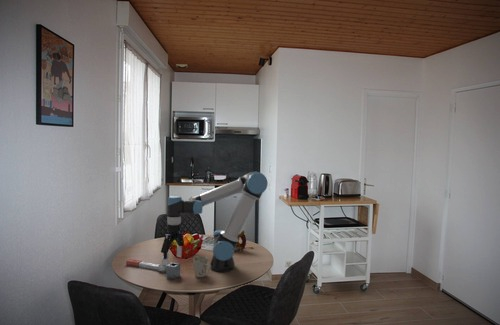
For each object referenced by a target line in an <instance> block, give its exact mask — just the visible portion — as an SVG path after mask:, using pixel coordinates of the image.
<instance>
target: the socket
mask: <svg viewBox="0 0 500 325" xmlns="http://www.w3.org/2000/svg"><path fill="white" fill-rule="evenodd" d="M165 275H166V276H165V278H166V279H169V280H170V279H171V280H176V279H178V278H179V277H180V276H181V263H179V262H172V261H171V262H170V263H168V265H167V266H166V273H165Z"/></svg>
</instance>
